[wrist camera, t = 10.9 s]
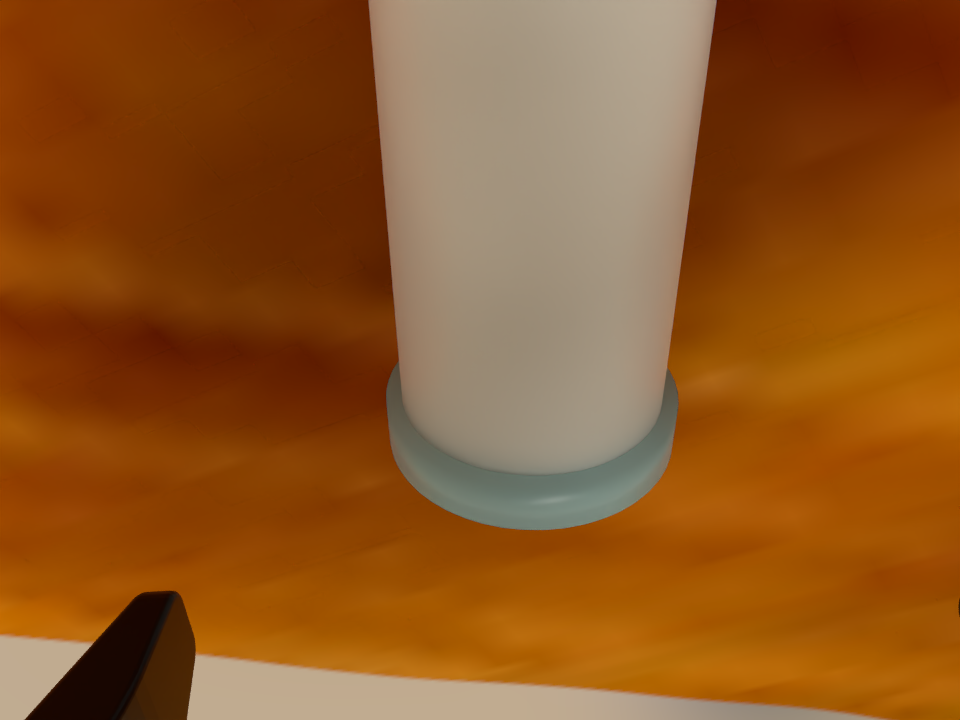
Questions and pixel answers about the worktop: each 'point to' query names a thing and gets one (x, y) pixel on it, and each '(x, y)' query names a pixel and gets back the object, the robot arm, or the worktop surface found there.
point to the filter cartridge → (536, 245)
